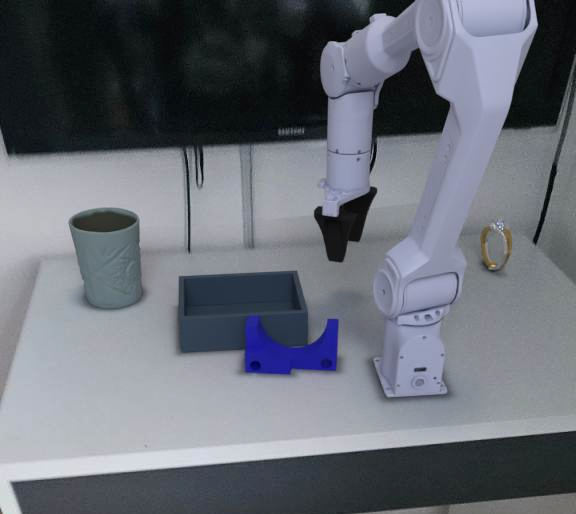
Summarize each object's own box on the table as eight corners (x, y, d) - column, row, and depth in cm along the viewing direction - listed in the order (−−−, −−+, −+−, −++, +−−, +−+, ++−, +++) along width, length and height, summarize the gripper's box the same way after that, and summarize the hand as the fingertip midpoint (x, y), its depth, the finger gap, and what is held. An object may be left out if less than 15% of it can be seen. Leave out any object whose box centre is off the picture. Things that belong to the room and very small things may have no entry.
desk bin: (307, 345, 107) (308, 312, 103) (181, 352, 106) (178, 318, 102) (296, 302, 117) (297, 270, 114) (182, 307, 116) (178, 275, 112)
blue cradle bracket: (245, 372, 102) (243, 331, 98) (250, 355, 105) (248, 315, 101) (335, 376, 101) (337, 335, 97) (337, 359, 104) (338, 319, 100)
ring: (472, 262, 128) (480, 214, 122) (490, 259, 128) (498, 211, 123) (492, 279, 123) (501, 229, 117) (510, 276, 123) (519, 227, 118)
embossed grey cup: (79, 287, 121) (64, 211, 113) (142, 278, 124) (132, 203, 116) (87, 315, 114) (72, 236, 106) (154, 305, 116) (144, 227, 108)
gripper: (337, 130, 105) (334, 228, 114) (300, 161, 95) (300, 266, 104) (386, 135, 103) (379, 234, 112) (354, 167, 93) (349, 273, 102)
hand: (344, 250), depth 108 cm, fingers open, 7 cm apart
